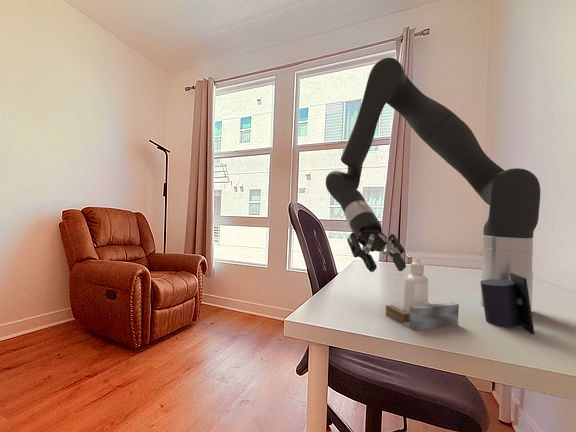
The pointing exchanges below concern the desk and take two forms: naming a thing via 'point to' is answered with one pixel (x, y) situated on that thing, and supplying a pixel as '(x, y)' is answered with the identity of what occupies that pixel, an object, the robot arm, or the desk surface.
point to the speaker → (507, 302)
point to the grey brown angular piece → (426, 315)
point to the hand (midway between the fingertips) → (388, 269)
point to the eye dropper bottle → (415, 287)
